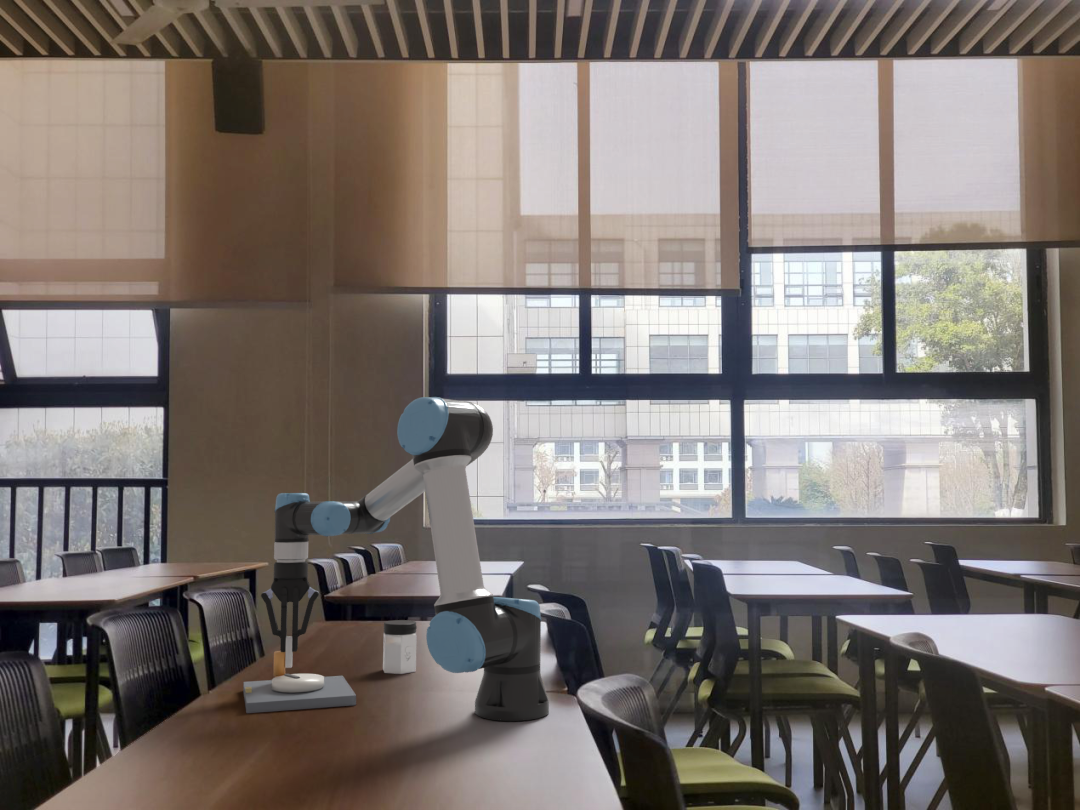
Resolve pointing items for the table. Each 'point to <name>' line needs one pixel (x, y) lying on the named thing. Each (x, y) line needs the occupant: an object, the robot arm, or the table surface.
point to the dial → (293, 678)
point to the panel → (297, 696)
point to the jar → (399, 647)
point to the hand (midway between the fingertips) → (288, 666)
